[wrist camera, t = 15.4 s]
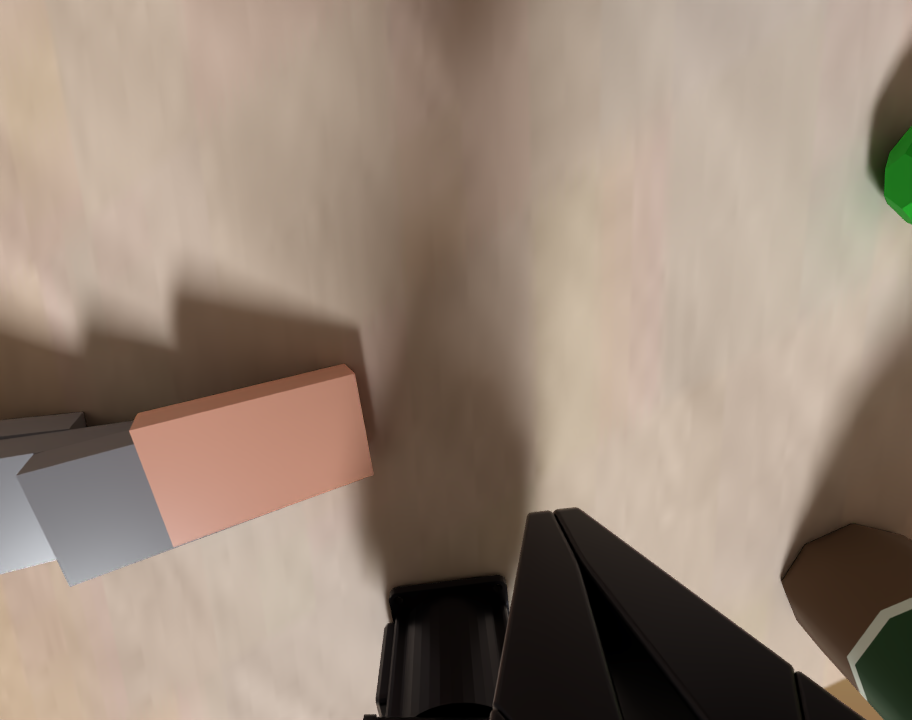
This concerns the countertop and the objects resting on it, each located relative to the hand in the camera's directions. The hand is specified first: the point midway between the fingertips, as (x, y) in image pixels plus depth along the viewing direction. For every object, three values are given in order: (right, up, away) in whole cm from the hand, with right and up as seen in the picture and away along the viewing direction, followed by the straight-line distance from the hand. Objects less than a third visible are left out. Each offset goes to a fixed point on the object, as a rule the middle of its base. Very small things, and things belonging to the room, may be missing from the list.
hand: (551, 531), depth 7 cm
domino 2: (-10, -1, +13) cm, 17 cm away
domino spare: (-6, 0, +13) cm, 14 cm away
